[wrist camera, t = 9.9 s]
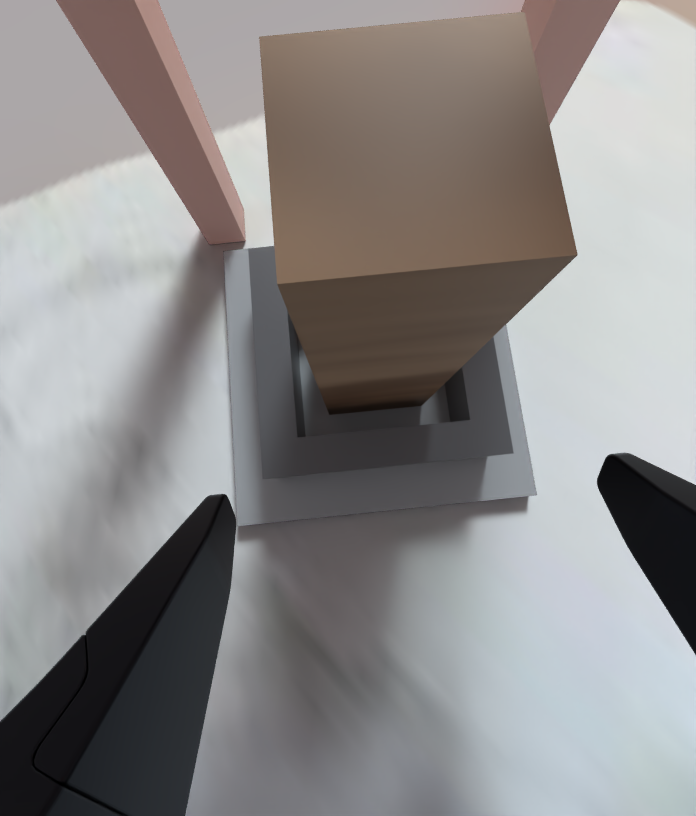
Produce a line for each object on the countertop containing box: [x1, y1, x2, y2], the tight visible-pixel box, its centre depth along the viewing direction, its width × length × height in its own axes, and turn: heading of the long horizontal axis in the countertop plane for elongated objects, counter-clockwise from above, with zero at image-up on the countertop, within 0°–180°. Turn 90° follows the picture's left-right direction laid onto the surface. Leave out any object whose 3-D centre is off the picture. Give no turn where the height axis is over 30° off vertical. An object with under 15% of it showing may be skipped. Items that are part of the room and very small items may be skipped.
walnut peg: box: [259, 12, 577, 415], centre depth 12 cm, size 4×4×13 cm
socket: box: [223, 246, 537, 526], centre depth 18 cm, size 14×14×4 cm
